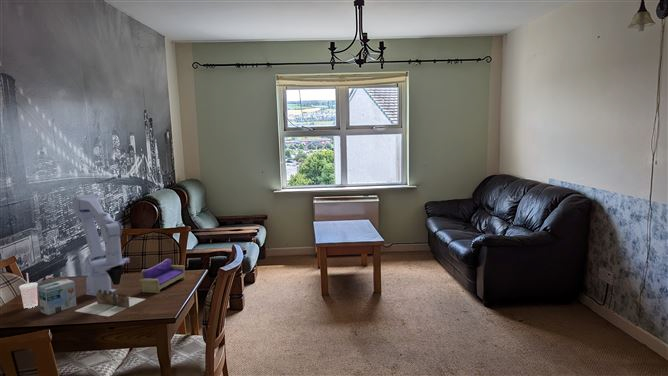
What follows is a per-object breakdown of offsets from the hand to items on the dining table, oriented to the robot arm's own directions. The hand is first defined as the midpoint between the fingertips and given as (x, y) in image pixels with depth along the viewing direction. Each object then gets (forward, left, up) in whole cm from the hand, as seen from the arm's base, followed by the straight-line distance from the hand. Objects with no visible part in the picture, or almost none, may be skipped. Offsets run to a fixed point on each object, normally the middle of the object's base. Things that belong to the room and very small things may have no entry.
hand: (116, 284), depth 173 cm
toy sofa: (+5, +21, -8) cm, 23 cm away
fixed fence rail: (+8, -5, -7) cm, 12 cm away
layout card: (+2, -5, -7) cm, 9 cm away
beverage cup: (-31, -15, -7) cm, 35 cm away
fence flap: (0, -5, -6) cm, 8 cm away
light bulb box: (-16, -14, -7) cm, 22 cm away
